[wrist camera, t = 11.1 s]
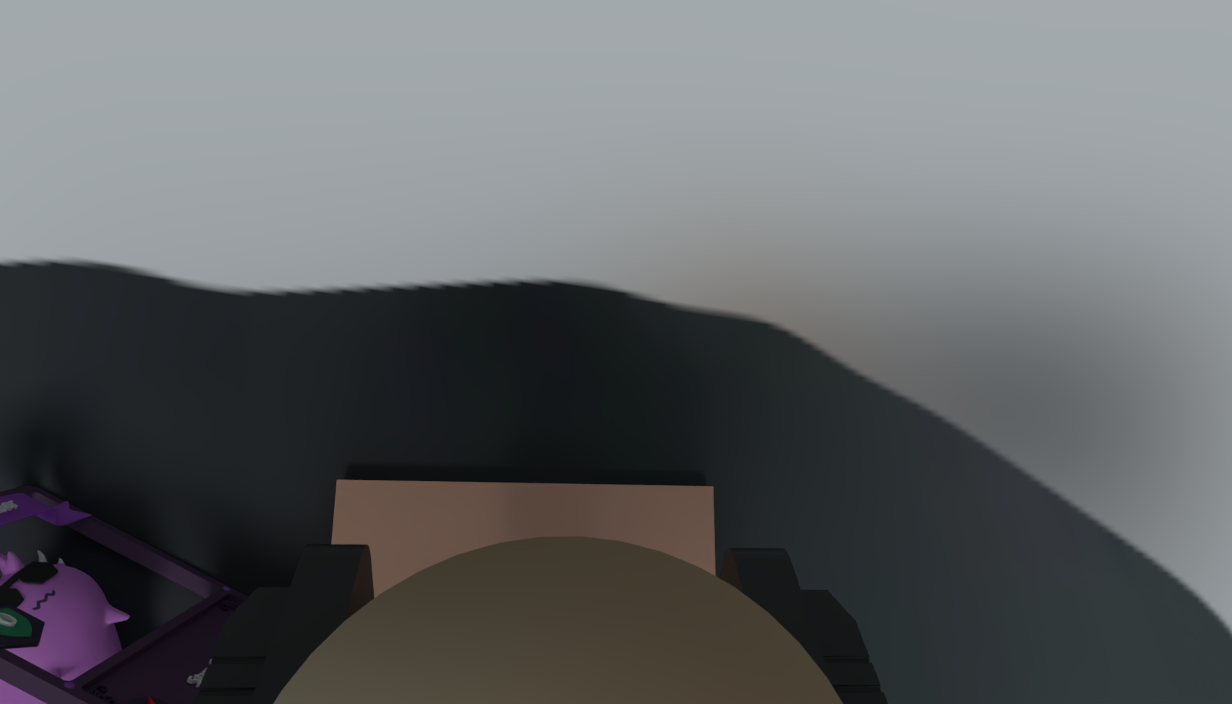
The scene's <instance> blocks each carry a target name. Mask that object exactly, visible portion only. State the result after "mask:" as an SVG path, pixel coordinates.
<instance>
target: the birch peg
mask: <svg viewBox="0 0 1232 704" xmlns="http://www.w3.org/2000/svg"><path fill="white" fill-rule="evenodd" d="M274 704H843V703H842V701H841V700H840V698H839V696H838V695H837V693H836V691H835V690H834V688H833V687H832V685H831V683H830V682H829V680H828V678H827V677H826V676H825V674H824V673H823V672H822V671H821V669H820V668H819V667H818V666H817V664H816V663H815V662H814V661H813V659H812V658H811V657H810V655H809V654H808V653H807V652H806V650H805V649H804V648H803V647H802V645H801V644H800V643H799V642H798V641H797V640H796V639H795V638H794V637H793V636H792V635H791V634H790V633H789V632H788V631H787V630H786V629H785V628H784V627H783V626H782V625H781V624H780V623H779V622H778V621H777V620H776V619H775V618H774V617H773V616H771V615H770V614H769V613H768V612H767V611H766V610H764V609H763V608H762V607H760V606H759V605H758V604H756V603H755V602H754V601H752V600H751V599H750V598H749V597H747V596H746V595H745V594H743V593H742V592H741V591H739V590H738V589H737V588H735V587H734V586H732V585H730V584H728V583H727V582H725V581H723V580H721V579H720V578H718V577H716V576H714V575H713V574H711V573H709V572H707V571H706V570H704V569H702V568H700V567H698V566H696V565H693V564H691V563H688V562H686V561H683V560H681V559H679V558H676V557H674V556H671V555H669V554H666V553H664V552H661V551H658V550H654V549H650V548H646V547H642V546H638V545H635V544H631V543H627V542H623V541H616V540H608V539H600V538H591V537H583V536H564V537H535V538H529V539H522V540H515V541H508V542H501V543H497V544H493V545H490V546H486V547H482V548H479V549H475V550H472V551H468V552H465V553H461V554H458V555H456V556H453V557H451V558H449V559H446V560H444V561H442V562H439V563H437V564H434V565H432V566H430V567H427V568H425V569H423V570H420V571H418V572H417V573H415V574H413V575H411V576H410V577H408V578H406V579H405V580H403V581H401V582H400V583H398V584H396V585H394V586H393V587H391V588H389V589H388V590H386V591H384V592H382V593H381V594H379V595H378V596H377V597H375V598H374V599H373V600H372V601H370V602H369V603H368V604H366V605H365V606H364V607H362V608H361V609H360V610H358V611H357V612H356V613H355V614H353V615H352V616H351V617H349V618H348V619H347V620H345V621H344V622H343V623H342V624H341V625H340V626H339V627H338V628H337V629H336V630H335V631H334V632H333V633H332V634H331V635H330V636H329V637H328V638H327V639H326V640H325V641H324V642H323V643H322V644H321V645H320V646H319V647H318V648H317V649H316V650H315V651H314V652H313V653H312V654H311V655H310V656H309V657H308V658H307V660H306V661H305V662H304V663H303V665H302V666H301V667H300V668H299V670H298V671H297V672H296V673H295V675H294V676H293V677H292V678H291V680H290V681H289V682H288V683H287V685H286V686H285V687H284V688H283V690H282V691H281V692H280V694H279V696H278V697H277V699H276V700H275V702H274Z"/></svg>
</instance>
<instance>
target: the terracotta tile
mask: <svg viewBox="0 0 1232 704" xmlns="http://www.w3.org/2000/svg"><path fill="white" fill-rule="evenodd" d="M564 536H583V537H591V538H600V539H608V540H616V541H623V542H627V543H631V544H635V545H638V546H642V547H646V548H650V549H654V550H658V551H661V552H664V553H666V554H669V555H671V556H674V557H676V558H679V559H681V560H683V561H686V562H688V563H691V564H693V565H696V566H698V567H700V568H702V569H704V570H706V571H707V572H709V573H711V574H713V575H714V576H715V535H714V494H713V486H667V485H611V484H554V483H497V482H441V481H384V480H337V484H336V495H335V507H334V519H333V531H332V542H331V544H367V545H368V546H369V548H370V553H371V562H372V575H373V587H374V598H375V597H377V596H378V595H379V594H381V593H382V592H384V591H386V590H388V589H389V588H391V587H393V586H394V585H396V584H398V583H400V582H401V581H403V580H405V579H406V578H408V577H410V576H411V575H413V574H415V573H417V572H418V571H420V570H423V569H425V568H427V567H430V566H432V565H434V564H437V563H439V562H442V561H444V560H446V559H449V558H451V557H453V556H456V555H458V554H461V553H465V552H468V551H472V550H475V549H479V548H482V547H486V546H490V545H493V544H497V543H501V542H508V541H515V540H522V539H529V538H535V537H564Z"/></svg>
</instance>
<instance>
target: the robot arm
mask: <svg viewBox="0 0 1232 704" xmlns="http://www.w3.org/2000/svg"><path fill="white" fill-rule="evenodd" d="M720 579H721V580H723V581H725V582H727V583H728V584H730V585H732V586H734V587H735V588H737V589H738V590H739V591H741V592H742V593H743V594H745V595H746V596H747V597H749V598H750V599H751V600H752V601H754V602H755V603H756V604H758V605H759V606H760V607H762V608H763V609H764V610H766V611H767V612H768V613H769V614H770V615H771V616H773V617H774V618H775V619H776V620H777V621H778V622H779V623H780V624H781V625H782V626H783V627H784V628H785V629H786V630H787V631H788V632H789V633H790V634H791V635H792V636H793V637H794V638H795V639H796V640H797V641H798V642H799V643H800V644H801V645H802V647H803V648H804V649H805V650H806V652H807V653H808V654H809V655H810V657H811V658H812V659H813V661H814V662H815V663H816V664H817V666H818V667H819V668H820V669H821V671H822V672H823V673H824V674H825V676H826V677H827V678H828V680H829V682H830V683H831V685H832V687H833V688H834V690H835V691H836V693H837V695H838V696H839V698H840V700H841V701H842V703H843V704H888V703H887V700H886V698H885V695H884V693H883V692H881V690H880V682H879V680H878V677H877V675H876V672H875V670H874V667H873V665H872V663H870V662H869V654H868V652H867V649H866V647H865V644H864V642H863V639H862V637H861V634H860V631H859V629H858V626H857V624H856V621H855V620H854V619H853V618H852V617H851V615H850V614H849V613H848V612H847V611H846V610H845V609H844V608H843V607H842V606H841V605H840V603H839V602H838V601H837V600H836V599H835V598H834V597H833V596H832V595H831V594H830V593H829V591H828V590H801V589H800V586H799V583H798V580H797V577H796V575H795V572H794V569H793V566H792V563H791V560H790V557H789V555H788V553H787V551H786V550H785V549H780V548H727V549H726V551H725V553H724V556H723V561H722V567H721V573H720ZM373 599H374V587H373V575H372V562H371V553H370V548H369V546H368V545H367V544H307V545H306V546H305V547H304V549H303V551H302V553H301V556H300V559H299V562H298V565H297V568H296V571H295V574H294V577H293V579H292V582H291V585H290V587H257V588H256V589H255V590H254V591H253V593H252V594H251V595H250V596H249V597H248V598H247V599H246V600H245V601H244V602H243V603H242V604H241V605H240V606H239V607H238V608H237V609H236V610H235V611H234V612H233V613H232V614H231V615H230V616H229V617H228V618H227V620H226V622H225V625H224V627H223V629H222V632H221V634H220V637H219V639H218V642H217V644H216V647H215V649H214V652H213V654H212V660H211V664H208V666H207V669H206V671H205V674H204V676H203V679H202V681H201V684H200V686H199V693H198V696H195V698H194V701H193V703H192V704H274V702H275V700H276V699H277V697H278V696H279V694H280V692H281V691H282V690H283V688H284V687H285V686H286V685H287V683H288V682H289V681H290V680H291V678H292V677H293V676H294V675H295V673H296V672H297V671H298V670H299V668H300V667H301V666H302V665H303V663H304V662H305V661H306V660H307V658H308V657H309V656H310V655H311V654H312V653H313V652H314V651H315V650H316V649H317V648H318V647H319V646H320V645H321V644H322V643H323V642H324V641H325V640H326V639H327V638H328V637H329V636H330V635H331V634H332V633H333V632H334V631H335V630H336V629H337V628H338V627H339V626H340V625H341V624H342V623H343V622H344V621H345V620H347V619H348V618H349V617H351V616H352V615H353V614H355V613H356V612H357V611H358V610H360V609H361V608H362V607H364V606H365V605H366V604H368V603H369V602H370V601H372V600H373Z"/></svg>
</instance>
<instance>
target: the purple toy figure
mask: <svg viewBox="0 0 1232 704" xmlns="http://www.w3.org/2000/svg"><path fill="white" fill-rule="evenodd" d="M34 515H37V516H38V517H40V518H42V519H44V520H46V521H48V522H50V523H52V524H54V525H57V526H64V525H66V526H68V527H70V528H71V529H73V530H75V531H77V532H79V533H81V534H83V535H85V536H87V537H89V538H91V539H93V540H95V541H96V542H98V543H100V544H102V545H104V546H106V547H108V548H110V549H112V550H114V551H116V552H118V553H119V554H121V555H123V556H125V557H127V558H129V559H131V560H133V561H135V562H137V563H139V564H141V565H143V566H144V567H146V568H148V569H150V570H152V571H154V572H156V573H158V574H160V575H162V576H164V577H166V578H167V579H169V580H171V581H173V582H175V583H177V584H179V585H181V586H183V587H185V588H187V589H189V590H191V591H192V592H194V593H196V594H198V595H200V596H202V597H204V598H206V599H204V600H203V601H201V602H200V603H198V604H196V605H195V606H193V607H191V608H190V609H188V610H186V611H185V612H183V613H181V614H180V615H178V616H177V617H175V618H173V619H172V620H170V621H168V622H167V623H165V624H163V625H162V626H160V627H159V628H157V629H155V630H154V631H152V632H150V633H149V634H147V635H145V636H144V637H142V638H140V639H139V640H137V641H136V642H134V643H132V644H131V645H129V646H127V647H126V648H124V649H122V647H121V644H120V640H119V637H118V634H117V631H116V628H115V625H114V623H116V622H121V621H125V620H128V619H129V617H130V615H128V614H127V613H124V612H122V611H120V610H118V609H116V608H114V607H112V606H111V605H110V604H109V603H108V601H107V599H106V597H105V595H104V593H103V591H102V590H101V588H100V587H99V585H98V584H97V583H96V582H95V581H94V580H93V579H92V578H91V577H90V576H89V575H87V574H86V573H84V572H82V571H80V570H78V569H75V568H72V567H68V566H66V565H65V564H64V562H63V560H62V559H60V558H59V562H58V563H57V564H55V565H53V564H52V563H49V562H47V560H46V558H45V556H44V554H43V553H42V552H41V551H39V550H38V551H37V552H38V557H39V560H38V562H31V563H30V564H28V565H27V566H24V565H23V564H22V563H21V561H20V559H19V558H18V557H17V556H16V555H15V554H14V553H13V552H11V551H9V552H8V555H7V556H5V555H3V554H2V553H0V570H1V571H2V577H1V578H0V704H192V703H193V701H194V698H195V696H198V693H199V686H200V684H201V681H202V679H203V676H204V674H205V671H206V669H207V666H208V664H211V660H212V654H213V652H214V649H215V647H216V644H217V642H218V639H219V637H220V634H221V632H222V629H223V627H224V625H225V622H226V620H227V618H228V617H229V616H230V615H231V614H232V613H233V612H234V611H235V610H236V609H237V608H238V607H239V606H240V605H241V604H242V603H243V602H244V601H245V600H246V599H247V598H248V596H246V595H244V594H242V593H240V592H238V591H236V590H235V589H233V588H231V587H229V586H227V585H225V584H223V583H221V582H219V581H217V580H215V579H213V578H211V577H210V576H208V575H206V574H204V573H202V572H200V571H198V570H196V569H194V568H192V567H190V566H188V565H186V564H185V563H183V562H181V561H179V560H177V559H175V558H173V557H171V556H169V555H167V554H165V553H163V552H161V551H160V550H158V549H156V548H154V547H152V546H150V545H148V544H146V543H144V542H142V541H140V540H138V539H136V538H135V537H133V536H131V535H129V534H127V533H125V532H123V531H121V530H119V529H117V528H115V527H113V526H111V525H110V524H108V523H106V522H104V521H102V520H100V519H98V518H96V517H94V516H92V515H91V514H88V513H86V512H85V511H83V510H81V509H79V508H77V507H75V506H73V505H71V504H69V503H68V501H66V502H65V501H63V500H61V499H60V498H58V497H56V496H54V495H52V494H50V493H48V492H46V491H44V490H42V489H40V488H38V487H35V486H28V485H27V486H22V487H18V488H14V489H10V490H6V491H2V492H0V526H3V525H6V524H8V523H11V522H14V521H17V520H20V519H23V518H27V517H30V516H34Z"/></svg>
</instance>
